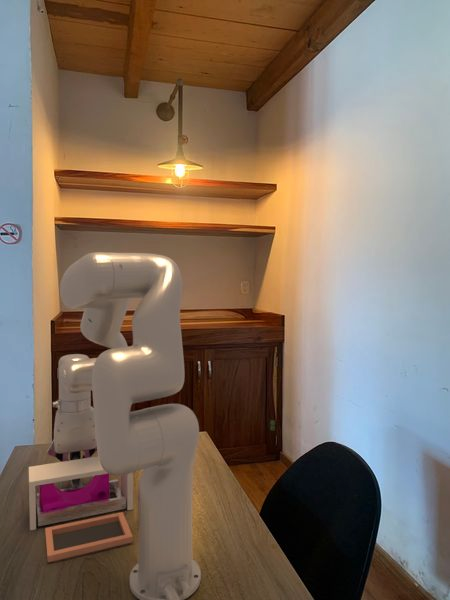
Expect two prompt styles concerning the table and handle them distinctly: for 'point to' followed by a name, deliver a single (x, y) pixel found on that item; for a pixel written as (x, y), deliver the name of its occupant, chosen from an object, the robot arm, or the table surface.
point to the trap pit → (87, 537)
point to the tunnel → (70, 472)
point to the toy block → (73, 494)
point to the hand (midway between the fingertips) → (75, 474)
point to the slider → (82, 509)
